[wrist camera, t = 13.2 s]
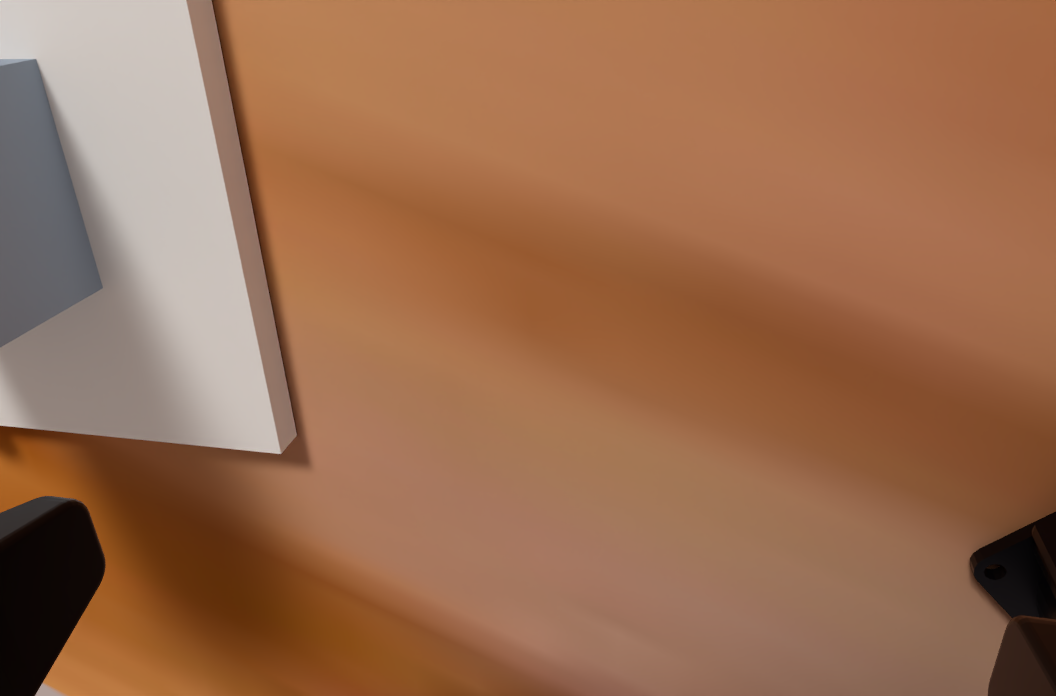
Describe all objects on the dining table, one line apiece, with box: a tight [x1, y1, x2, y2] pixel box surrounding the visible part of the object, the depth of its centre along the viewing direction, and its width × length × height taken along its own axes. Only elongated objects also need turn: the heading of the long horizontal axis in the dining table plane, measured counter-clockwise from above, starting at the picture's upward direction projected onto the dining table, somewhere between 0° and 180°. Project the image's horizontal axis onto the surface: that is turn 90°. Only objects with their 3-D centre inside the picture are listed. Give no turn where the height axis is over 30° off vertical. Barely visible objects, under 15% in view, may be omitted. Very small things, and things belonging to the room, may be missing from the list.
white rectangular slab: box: [0, 0, 297, 454], centre depth 22 cm, size 12×16×2 cm
